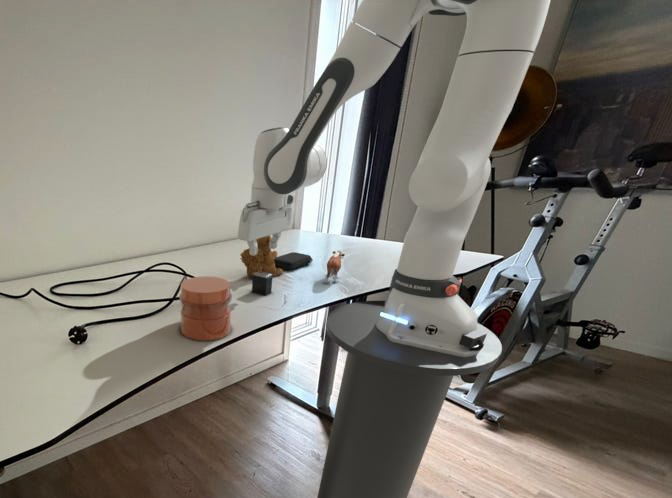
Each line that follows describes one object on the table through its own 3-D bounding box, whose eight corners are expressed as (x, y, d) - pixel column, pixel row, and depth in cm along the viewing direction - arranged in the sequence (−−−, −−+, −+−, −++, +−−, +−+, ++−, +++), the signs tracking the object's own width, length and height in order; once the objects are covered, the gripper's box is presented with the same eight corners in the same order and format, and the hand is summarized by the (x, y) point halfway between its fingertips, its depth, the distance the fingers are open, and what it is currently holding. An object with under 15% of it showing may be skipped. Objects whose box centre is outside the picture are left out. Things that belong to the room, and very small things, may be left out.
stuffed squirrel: (284, 273, 128) (288, 233, 122) (258, 283, 120) (261, 241, 114) (261, 267, 135) (263, 229, 128) (234, 277, 127) (236, 236, 120)
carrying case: (292, 272, 129) (316, 263, 137) (293, 264, 127) (317, 255, 136) (267, 266, 136) (291, 258, 144) (268, 258, 134) (292, 250, 143)
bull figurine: (342, 273, 127) (347, 249, 123) (335, 286, 116) (340, 259, 112) (329, 272, 128) (333, 248, 124) (321, 284, 118) (325, 258, 114)
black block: (271, 292, 113) (272, 273, 110) (265, 295, 111) (266, 276, 108) (257, 289, 116) (258, 270, 113) (251, 291, 114) (252, 272, 111)
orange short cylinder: (241, 328, 92) (242, 283, 86) (207, 346, 85) (206, 297, 79) (204, 315, 100) (204, 272, 94) (170, 330, 92) (167, 285, 87)
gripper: (253, 205, 92) (250, 261, 99) (298, 196, 105) (292, 246, 112) (233, 202, 96) (231, 256, 103) (278, 194, 109) (274, 243, 116)
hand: (263, 251), depth 108 cm, fingers open, 8 cm apart
